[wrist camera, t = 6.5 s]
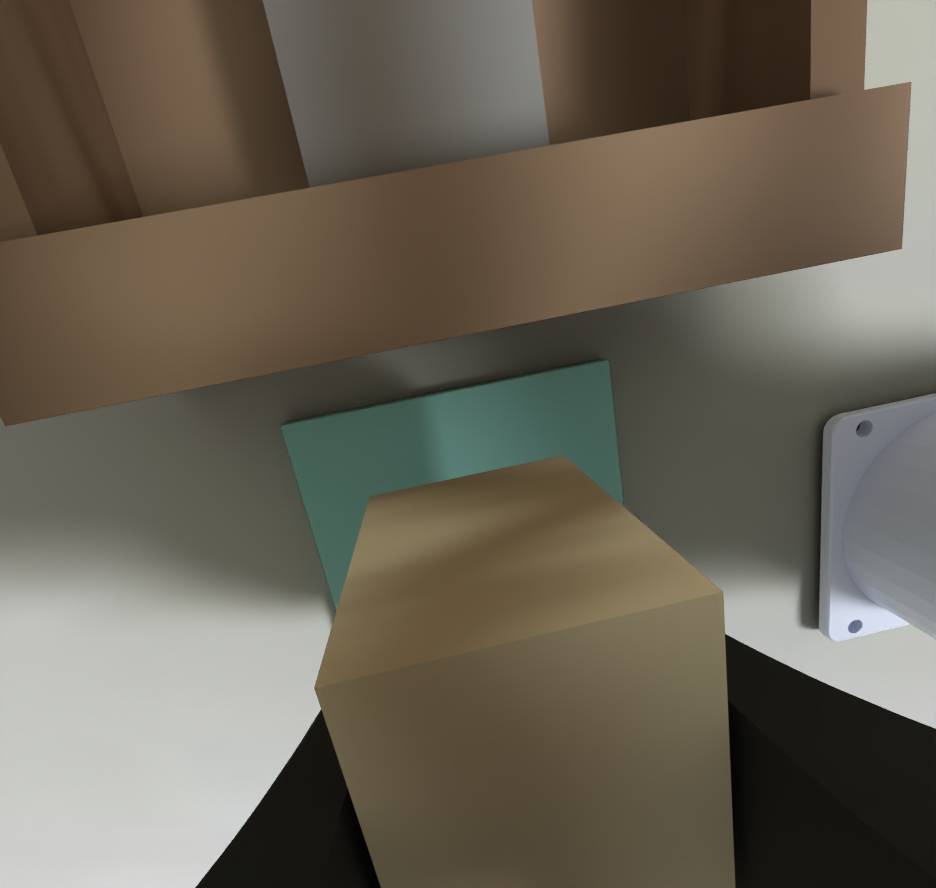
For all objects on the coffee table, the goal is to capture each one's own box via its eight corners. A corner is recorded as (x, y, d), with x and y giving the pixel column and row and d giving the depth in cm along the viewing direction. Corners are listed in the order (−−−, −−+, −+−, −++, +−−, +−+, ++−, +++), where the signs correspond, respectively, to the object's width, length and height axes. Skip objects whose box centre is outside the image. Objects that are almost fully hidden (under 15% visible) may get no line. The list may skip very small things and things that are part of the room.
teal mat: (603, 359, 13) (608, 360, 12) (631, 627, 15) (637, 635, 15) (284, 423, 12) (280, 426, 12) (364, 690, 15) (363, 700, 14)
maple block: (563, 454, 9) (722, 591, 4) (595, 691, 11) (739, 984, 6) (370, 496, 9) (314, 687, 4) (431, 731, 11) (441, 1069, 6)
